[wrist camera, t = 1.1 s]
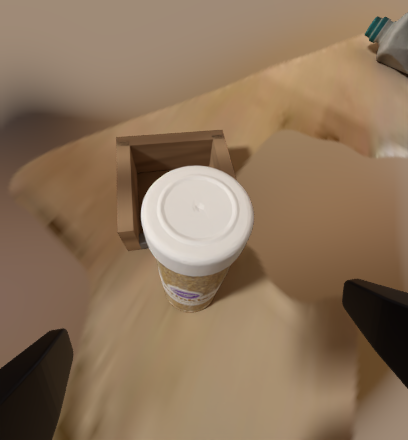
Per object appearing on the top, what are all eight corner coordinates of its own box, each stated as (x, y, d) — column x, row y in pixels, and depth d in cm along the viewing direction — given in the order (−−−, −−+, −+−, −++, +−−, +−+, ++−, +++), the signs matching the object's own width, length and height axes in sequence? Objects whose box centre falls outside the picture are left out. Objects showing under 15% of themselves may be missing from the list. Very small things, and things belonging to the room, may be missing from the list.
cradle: (237, 236, 24) (247, 216, 20) (128, 250, 22) (117, 232, 19) (217, 157, 28) (222, 129, 25) (125, 165, 27) (116, 137, 23)
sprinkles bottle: (163, 314, 20) (132, 264, 8) (165, 260, 22) (143, 159, 10) (218, 312, 21) (265, 261, 9) (215, 260, 23) (249, 161, 11)
